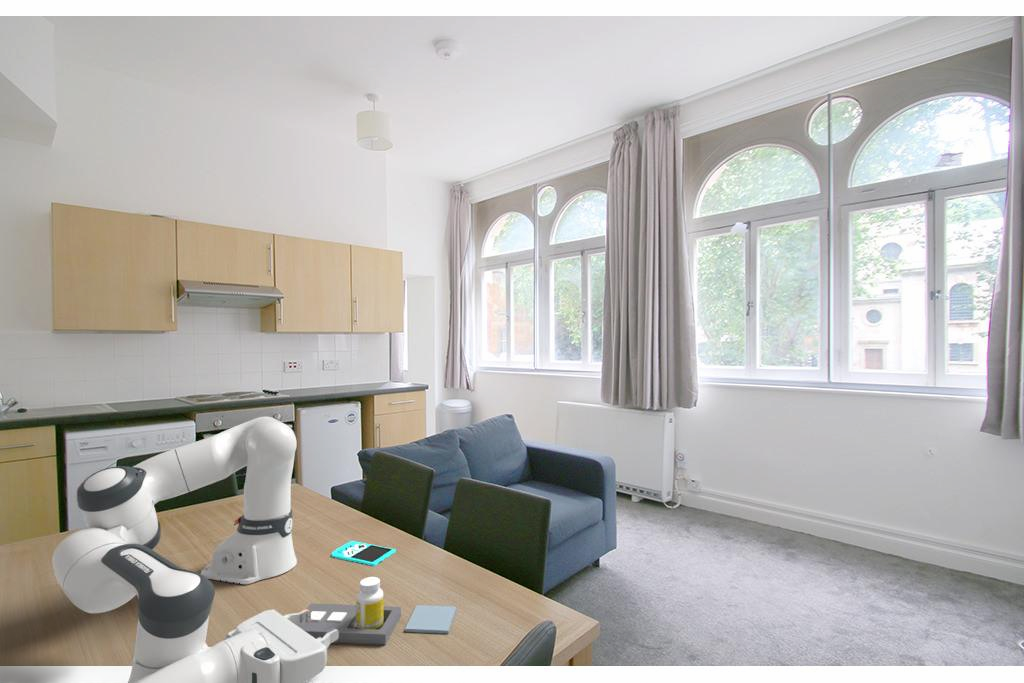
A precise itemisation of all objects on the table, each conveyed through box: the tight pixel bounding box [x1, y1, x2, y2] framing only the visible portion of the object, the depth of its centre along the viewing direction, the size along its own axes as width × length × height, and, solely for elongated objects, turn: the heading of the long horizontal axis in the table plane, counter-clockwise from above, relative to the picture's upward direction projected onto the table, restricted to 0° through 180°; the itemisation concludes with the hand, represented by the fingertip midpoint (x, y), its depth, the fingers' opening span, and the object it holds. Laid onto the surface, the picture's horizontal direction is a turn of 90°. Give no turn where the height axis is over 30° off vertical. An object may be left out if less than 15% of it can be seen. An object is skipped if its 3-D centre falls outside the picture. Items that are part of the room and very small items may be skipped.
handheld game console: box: [331, 540, 397, 567], centre depth 135 cm, size 10×16×1 cm, turn 68°
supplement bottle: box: [355, 576, 385, 630], centre depth 99 cm, size 5×5×10 cm
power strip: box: [297, 602, 402, 646], centre depth 100 cm, size 28×10×3 cm, turn 86°
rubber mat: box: [404, 604, 458, 634], centre depth 103 cm, size 9×9×1 cm
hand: (322, 623), depth 91 cm, fingers open, 8 cm apart
